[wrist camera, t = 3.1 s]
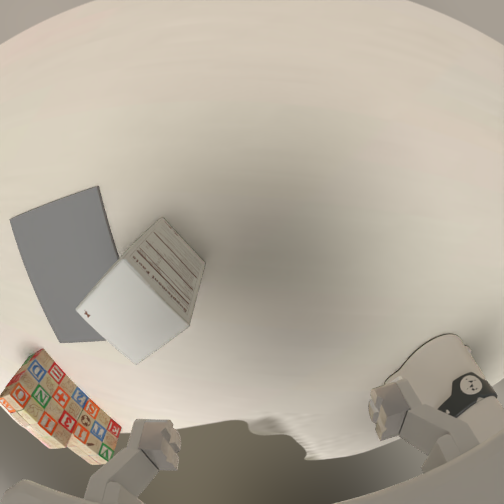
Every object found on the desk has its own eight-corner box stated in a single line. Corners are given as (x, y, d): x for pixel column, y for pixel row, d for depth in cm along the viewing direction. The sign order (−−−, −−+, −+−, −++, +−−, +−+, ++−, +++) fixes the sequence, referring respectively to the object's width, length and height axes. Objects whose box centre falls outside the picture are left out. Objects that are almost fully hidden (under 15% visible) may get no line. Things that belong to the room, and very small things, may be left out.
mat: (148, 334, 36) (147, 337, 36) (61, 341, 37) (60, 343, 36) (98, 185, 29) (96, 186, 29) (11, 218, 30) (9, 219, 29)
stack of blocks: (123, 426, 44) (107, 477, 33) (103, 430, 45) (87, 477, 34) (43, 347, 38) (8, 395, 26) (28, 355, 38) (-5, 399, 27)
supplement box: (164, 298, 35) (134, 368, 23) (121, 254, 32) (71, 309, 21) (208, 263, 33) (192, 328, 21) (163, 214, 31) (120, 256, 19)
